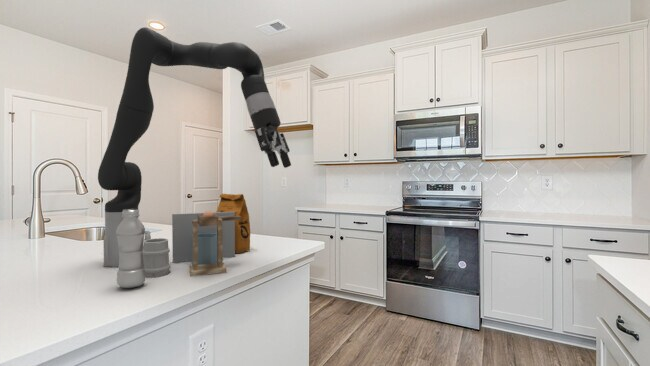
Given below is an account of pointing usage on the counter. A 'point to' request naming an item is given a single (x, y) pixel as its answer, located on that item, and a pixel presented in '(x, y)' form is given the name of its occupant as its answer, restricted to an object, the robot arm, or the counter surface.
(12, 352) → the counter surface
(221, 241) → the stand
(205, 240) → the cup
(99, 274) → the counter surface
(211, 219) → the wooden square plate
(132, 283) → the plastic bottle
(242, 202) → the coffee package
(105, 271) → the counter surface
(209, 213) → the ball
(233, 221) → the backboard
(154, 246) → the mug
